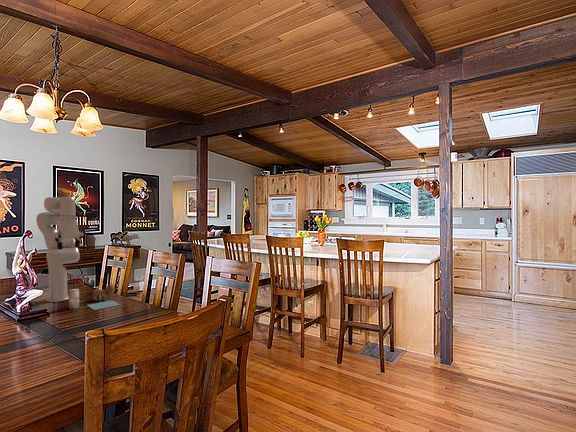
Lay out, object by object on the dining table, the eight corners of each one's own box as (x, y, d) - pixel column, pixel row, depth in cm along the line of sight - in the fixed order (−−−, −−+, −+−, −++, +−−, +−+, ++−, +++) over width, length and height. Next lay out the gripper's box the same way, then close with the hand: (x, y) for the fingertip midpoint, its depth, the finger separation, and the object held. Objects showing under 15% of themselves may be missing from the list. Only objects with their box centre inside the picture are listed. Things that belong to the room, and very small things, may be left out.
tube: (68, 307, 199) (67, 290, 199) (78, 305, 202) (77, 288, 202) (70, 309, 195) (70, 291, 195) (80, 307, 199) (80, 289, 199)
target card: (86, 305, 203) (86, 305, 203) (112, 300, 212) (112, 300, 212) (94, 310, 193) (94, 309, 193) (120, 305, 203) (120, 304, 203)
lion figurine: (116, 297, 220) (115, 283, 220) (113, 300, 215) (113, 285, 214) (90, 299, 217) (90, 285, 216) (87, 301, 211) (87, 286, 211)
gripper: (78, 218, 208) (79, 246, 208) (48, 219, 192) (48, 249, 192) (86, 218, 204) (87, 247, 204) (56, 218, 189) (57, 250, 189)
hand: (68, 248), depth 198 cm, fingers open, 9 cm apart
